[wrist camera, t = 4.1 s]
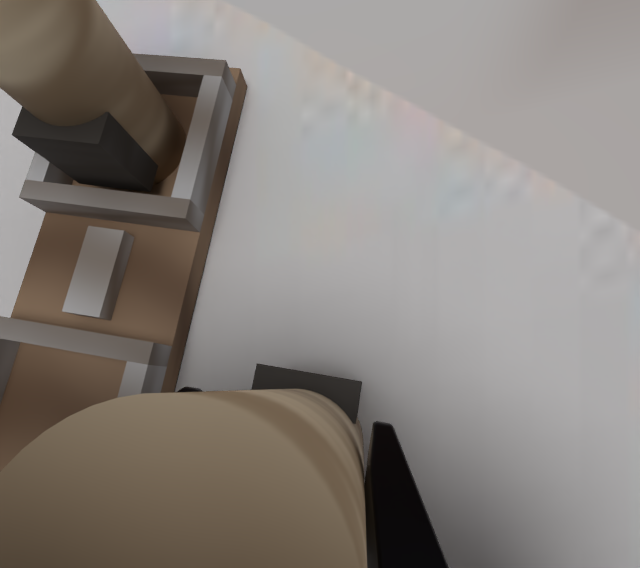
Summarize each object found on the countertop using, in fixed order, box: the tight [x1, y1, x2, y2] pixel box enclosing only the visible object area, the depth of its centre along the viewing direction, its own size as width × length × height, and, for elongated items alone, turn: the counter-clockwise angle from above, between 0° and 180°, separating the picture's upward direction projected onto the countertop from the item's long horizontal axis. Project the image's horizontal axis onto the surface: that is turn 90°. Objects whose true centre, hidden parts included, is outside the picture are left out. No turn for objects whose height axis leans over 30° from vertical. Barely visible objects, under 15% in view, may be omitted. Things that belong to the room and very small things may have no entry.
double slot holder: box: [0, 54, 247, 472], centre depth 17 cm, size 21×7×3 cm, turn 170°
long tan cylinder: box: [0, 0, 186, 192], centre depth 12 cm, size 4×4×13 cm
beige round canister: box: [0, 364, 367, 568], centre depth 10 cm, size 4×4×13 cm
